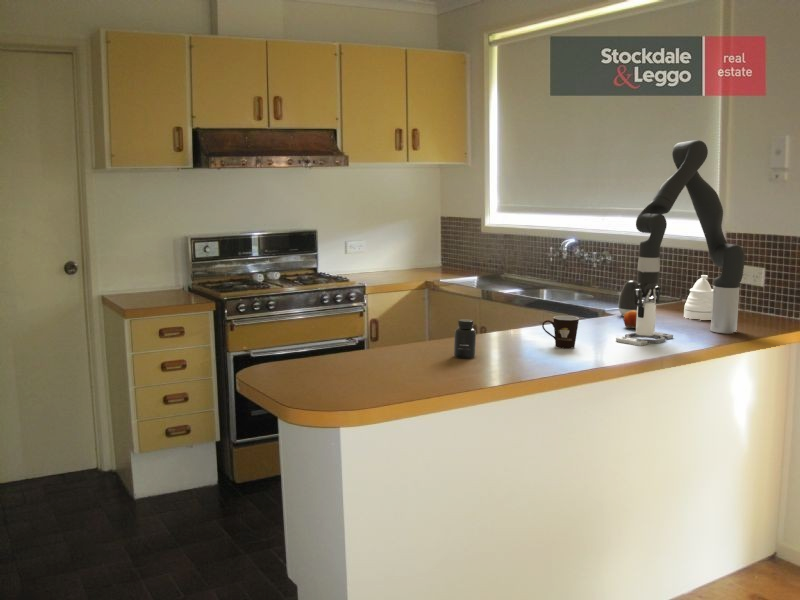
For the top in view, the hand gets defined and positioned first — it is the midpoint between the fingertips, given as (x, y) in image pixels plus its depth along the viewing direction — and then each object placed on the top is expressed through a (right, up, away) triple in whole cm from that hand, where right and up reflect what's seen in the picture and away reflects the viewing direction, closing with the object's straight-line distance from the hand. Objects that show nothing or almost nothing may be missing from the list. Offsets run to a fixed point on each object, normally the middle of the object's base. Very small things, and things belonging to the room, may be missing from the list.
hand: (645, 316), depth 301 cm
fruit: (+2, -5, +24) cm, 24 cm away
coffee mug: (-32, -10, -11) cm, 36 cm away
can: (0, -7, +1) cm, 7 cm away
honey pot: (+37, -2, +48) cm, 60 cm away
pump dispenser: (+8, -1, +51) cm, 51 cm away
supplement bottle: (-67, -13, -29) cm, 74 cm away
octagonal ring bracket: (0, -8, +1) cm, 8 cm away
